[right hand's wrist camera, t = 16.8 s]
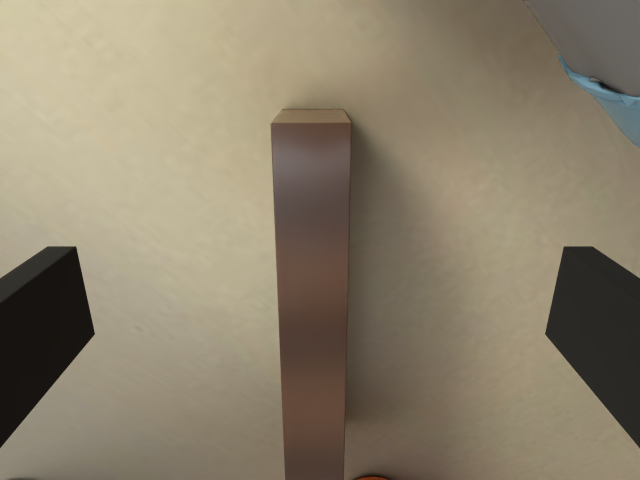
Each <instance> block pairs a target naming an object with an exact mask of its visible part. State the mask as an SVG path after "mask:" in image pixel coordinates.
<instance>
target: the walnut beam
mask: <svg viewBox="0 0 640 480" xmlns="http://www.w3.org/2000/svg"><path fill="white" fill-rule="evenodd" d="M351 131H352V123H351V121H350V120H349V118H348V116H347V115H346V113H345V111H344V110H343V109H282V110H281V112H280V113H279V114H278V115H277V116H276V118H275V119H274V120H273V121H272V123H271V142H272V166H273V191H274V215H275V240H276V264H277V288H278V313H279V337H280V362H281V386H282V410H283V435H284V459H285V480H344V444H345V399H346V355H347V310H348V265H349V220H350V175H351Z"/></svg>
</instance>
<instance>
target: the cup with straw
mask: <svg viewBox="0 0 640 480" xmlns="http://www.w3.org/2000/svg"><path fill="white" fill-rule="evenodd" d="M357 480H387V479H384V478H380V477H365V478H360V479H357Z"/></svg>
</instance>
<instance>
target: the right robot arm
mask: <svg viewBox="0 0 640 480" xmlns="http://www.w3.org/2000/svg"><path fill="white" fill-rule="evenodd" d="M523 1H524V2H525V4H526V5H527V7H528V8H529V9H530V11H531V12H532V14H533V15H534V16H535V18H536V19H537V21H538V22H539V23H540V25H541V26H542V28H543V29H544V31H545V32H546V34H547V35H548V37H549V38H550V40H551V41H552V43H553V44H554V46H555V47H556V48H557V50H558V51H559V55H558V58H559V61H560V63H561V65H562V67H563V69H564V70H565V71H566V73H567V74H568V75H569V77H570V79H571V80H572V81H573V82H574V83H575V84H576V85H577V86H579V87H580V88H581V89H583V90H585V91H586V92H588V93H589V94H591V95H592V96H593V97H594V98H595V100H596V101H597V102H598V103H599V104H600V105H601V107H602V108H603V109H604V110H605V111H606V112H607V114H608V115H609V116H610V117H611V119H612V120H613V121H614V122H615V124H616V125H617V126H618V127H619V129H620V130H621V131H622V133H623V134H624V135H625V136H626V137H627V138H628V139H629V140H630V141H631V142H632V143H633V144H635V145H636V146H637V147H639V148H640V0H523ZM94 334H95V332H94V328H93V323H92V319H91V314H90V309H89V305H88V300H87V295H86V291H85V286H84V281H83V277H82V272H81V267H80V263H79V258H78V253H77V249H76V247H46V248H45V249H43V250H42V251H40V252H39V253H37V254H36V255H34V256H33V257H31V258H30V259H28V260H27V261H25V262H24V263H22V264H21V265H19V266H18V267H17V268H15V269H14V270H12V271H11V272H9V273H8V274H6V275H5V276H3V277H2V278H0V448H1V446H2V445H3V444H4V443H5V442H6V440H7V439H8V438H9V437H10V436H11V434H12V433H13V432H14V431H15V430H16V428H17V427H18V426H19V425H20V424H21V422H22V421H23V420H24V419H25V418H26V416H27V415H28V414H29V413H30V412H31V410H32V409H33V408H34V407H35V406H36V404H37V403H38V402H39V401H40V400H41V398H42V397H43V396H44V395H45V393H46V392H47V391H48V390H49V389H50V387H51V386H52V385H53V384H54V383H55V381H56V380H57V379H58V378H59V377H60V375H61V374H62V373H63V372H64V371H65V369H66V368H67V367H68V366H69V365H70V363H71V362H72V361H73V360H74V359H75V357H76V356H77V355H78V354H79V353H80V351H81V350H82V349H83V348H84V347H85V345H86V344H87V343H88V342H89V341H90V339H91V338H92V337H93V336H94ZM545 334H546V336H547V337H548V338H549V339H550V341H551V342H552V343H553V344H554V345H555V347H556V348H557V349H558V350H559V351H560V353H561V354H562V355H563V356H564V357H565V359H566V360H567V361H568V362H569V363H570V365H571V366H572V367H573V368H574V369H575V371H576V372H577V373H578V374H579V375H580V377H581V378H582V379H583V380H584V381H585V383H586V384H587V385H588V386H589V387H590V389H591V390H592V391H593V392H594V393H595V395H596V396H597V397H598V398H599V400H600V401H601V402H602V403H603V404H604V406H605V407H606V408H607V409H608V410H609V412H610V413H611V414H612V415H613V416H614V418H615V419H616V420H617V421H618V422H619V424H620V425H621V426H622V427H623V428H624V430H625V431H626V432H627V433H628V434H629V436H630V437H631V438H632V439H633V440H634V442H635V443H636V444H637V445H638V446H639V448H640V278H638V277H637V276H635V275H634V274H632V273H631V272H629V271H628V270H626V269H625V268H623V267H622V266H621V265H619V264H618V263H616V262H615V261H613V260H612V259H610V258H609V257H607V256H606V255H604V254H603V253H601V252H600V251H598V250H597V249H595V248H594V247H564V249H563V253H562V258H561V263H560V267H559V272H558V277H557V281H556V286H555V291H554V295H553V300H552V305H551V309H550V314H549V319H548V323H547V328H546V332H545Z"/></svg>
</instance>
